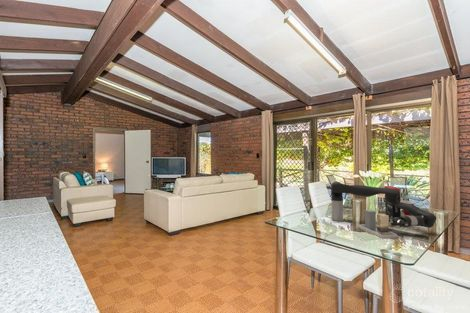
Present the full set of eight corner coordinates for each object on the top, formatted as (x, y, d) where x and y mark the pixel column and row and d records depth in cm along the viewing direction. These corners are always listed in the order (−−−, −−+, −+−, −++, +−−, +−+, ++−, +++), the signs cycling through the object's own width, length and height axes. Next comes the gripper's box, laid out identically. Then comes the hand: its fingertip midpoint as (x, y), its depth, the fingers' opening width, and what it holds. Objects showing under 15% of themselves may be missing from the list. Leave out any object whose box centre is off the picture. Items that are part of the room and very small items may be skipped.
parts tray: (397, 238, 168) (397, 234, 168) (381, 240, 167) (381, 235, 167) (372, 227, 194) (372, 223, 194) (358, 228, 192) (358, 224, 192)
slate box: (375, 230, 185) (375, 211, 184) (369, 230, 184) (369, 211, 184) (371, 228, 190) (371, 209, 189) (365, 228, 189) (364, 210, 189)
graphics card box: (401, 220, 212) (401, 188, 212) (392, 220, 213) (391, 188, 213) (392, 215, 229) (392, 185, 228) (384, 215, 230) (384, 185, 230)
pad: (381, 241, 165) (381, 239, 165) (365, 242, 164) (365, 240, 164) (365, 233, 181) (365, 232, 181) (351, 234, 179) (351, 232, 179)
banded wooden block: (388, 235, 172) (388, 215, 171) (382, 236, 171) (381, 216, 171) (383, 233, 177) (383, 213, 176) (377, 234, 176) (376, 214, 176)
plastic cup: (410, 216, 224) (410, 203, 224) (398, 214, 234) (398, 201, 234) (417, 214, 230) (417, 201, 230) (404, 212, 239) (404, 200, 239)
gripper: (399, 213, 183) (379, 214, 181) (416, 218, 169) (394, 219, 167) (400, 223, 183) (379, 225, 181) (416, 229, 169) (394, 231, 167)
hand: (386, 222), depth 174 cm, fingers open, 8 cm apart
